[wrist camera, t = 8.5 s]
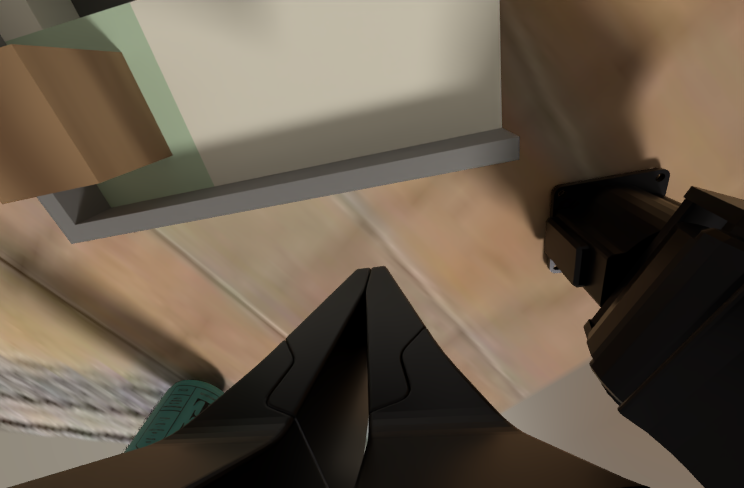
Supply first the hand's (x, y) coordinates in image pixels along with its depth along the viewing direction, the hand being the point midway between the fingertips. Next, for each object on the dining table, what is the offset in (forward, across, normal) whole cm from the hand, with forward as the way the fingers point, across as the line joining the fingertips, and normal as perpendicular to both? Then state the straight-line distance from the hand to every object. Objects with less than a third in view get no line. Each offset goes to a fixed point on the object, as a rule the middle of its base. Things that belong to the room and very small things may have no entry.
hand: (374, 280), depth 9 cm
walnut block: (+9, +14, -6) cm, 18 cm away
